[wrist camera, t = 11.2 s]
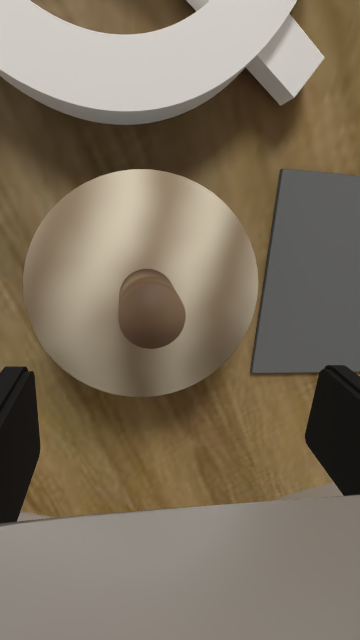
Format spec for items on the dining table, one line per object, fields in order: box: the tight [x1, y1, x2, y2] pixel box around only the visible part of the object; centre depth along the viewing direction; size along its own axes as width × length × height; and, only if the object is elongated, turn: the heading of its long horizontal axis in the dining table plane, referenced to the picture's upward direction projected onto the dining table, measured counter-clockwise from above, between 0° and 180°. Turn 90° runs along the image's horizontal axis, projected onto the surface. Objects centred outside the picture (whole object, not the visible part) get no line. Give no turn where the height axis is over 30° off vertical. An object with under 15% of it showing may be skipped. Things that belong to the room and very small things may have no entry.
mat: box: [250, 169, 360, 373], centre depth 35 cm, size 20×20×1 cm
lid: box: [23, 169, 258, 397], centre depth 23 cm, size 17×17×6 cm
